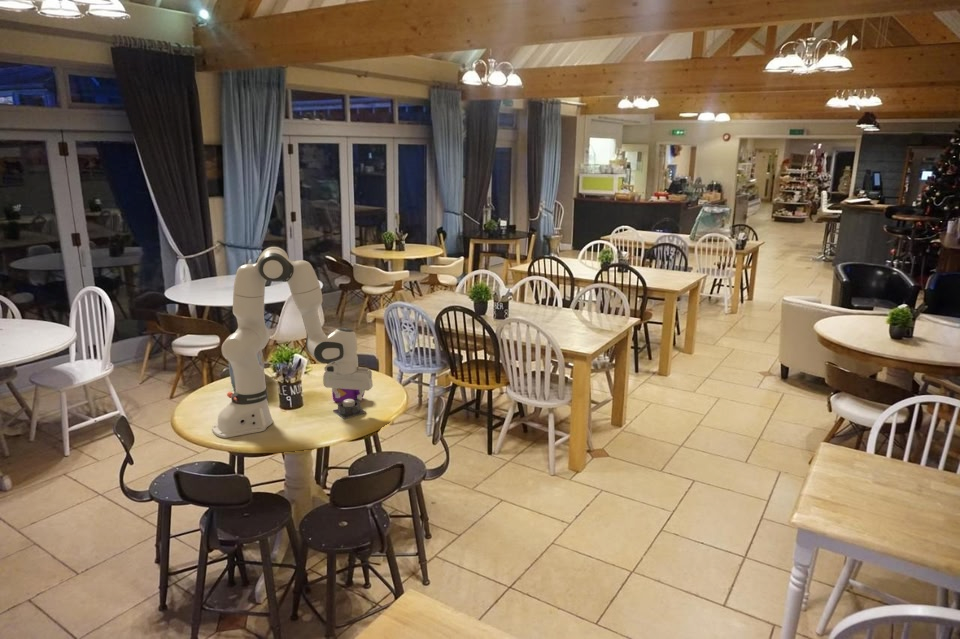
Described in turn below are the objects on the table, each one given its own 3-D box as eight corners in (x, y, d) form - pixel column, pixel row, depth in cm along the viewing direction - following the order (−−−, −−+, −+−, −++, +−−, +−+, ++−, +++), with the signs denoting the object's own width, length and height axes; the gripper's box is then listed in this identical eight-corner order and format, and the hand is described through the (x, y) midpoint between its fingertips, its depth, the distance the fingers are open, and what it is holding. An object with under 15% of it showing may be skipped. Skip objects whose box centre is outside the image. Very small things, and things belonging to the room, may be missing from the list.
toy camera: (363, 404, 279) (362, 382, 276) (331, 404, 279) (330, 382, 276) (368, 395, 289) (367, 373, 287) (337, 395, 289) (336, 373, 287)
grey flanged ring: (344, 419, 263) (343, 410, 262) (332, 411, 271) (332, 403, 270) (366, 413, 269) (365, 404, 268) (354, 405, 277) (354, 397, 276)
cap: (346, 414, 266) (346, 404, 265) (340, 410, 270) (340, 400, 269) (357, 411, 269) (357, 401, 268) (351, 407, 273) (351, 397, 272)
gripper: (374, 365, 266) (375, 397, 269) (327, 362, 270) (329, 394, 273) (368, 370, 260) (370, 403, 263) (320, 367, 264) (322, 399, 267)
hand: (348, 398), depth 268 cm, fingers open, 8 cm apart
